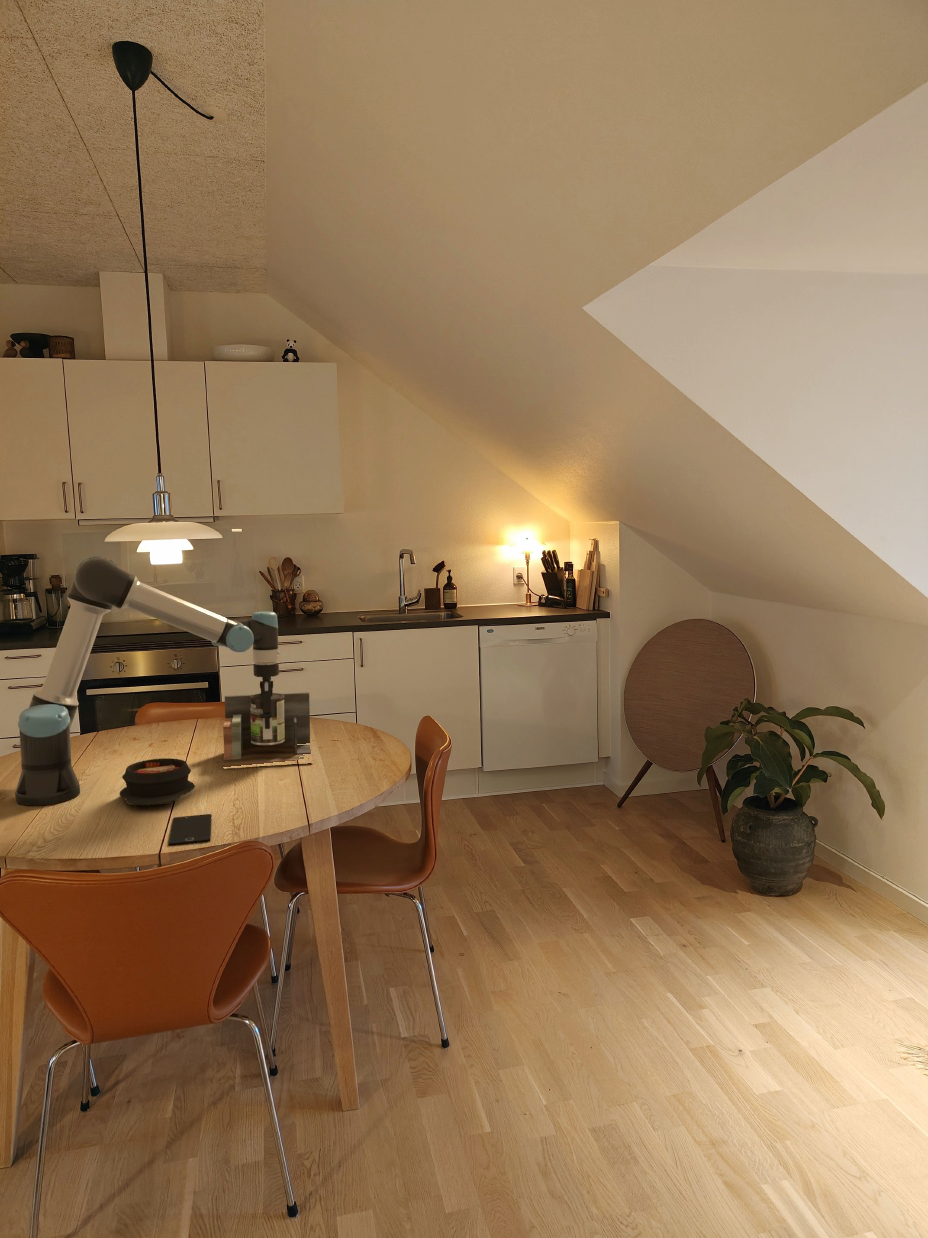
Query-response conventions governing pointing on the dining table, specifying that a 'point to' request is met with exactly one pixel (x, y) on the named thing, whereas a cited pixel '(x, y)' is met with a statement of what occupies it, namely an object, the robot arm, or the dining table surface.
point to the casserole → (156, 781)
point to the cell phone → (190, 830)
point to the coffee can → (277, 719)
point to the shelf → (246, 753)
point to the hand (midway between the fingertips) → (267, 734)
